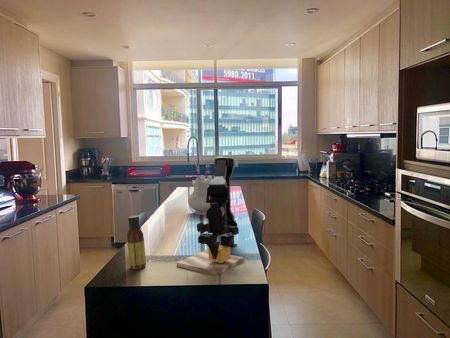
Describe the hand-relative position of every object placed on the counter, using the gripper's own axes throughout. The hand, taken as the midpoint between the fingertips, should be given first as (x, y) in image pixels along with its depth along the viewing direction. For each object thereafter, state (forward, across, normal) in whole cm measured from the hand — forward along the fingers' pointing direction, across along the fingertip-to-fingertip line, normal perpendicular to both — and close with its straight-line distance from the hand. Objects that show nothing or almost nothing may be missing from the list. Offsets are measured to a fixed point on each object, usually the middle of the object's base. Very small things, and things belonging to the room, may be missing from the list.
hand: (219, 256), depth 139 cm
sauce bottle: (+4, +18, -26) cm, 32 cm away
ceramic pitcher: (+4, -74, -68) cm, 101 cm away
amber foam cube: (+1, 0, 0) cm, 1 cm away
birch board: (+4, 0, -4) cm, 6 cm away
